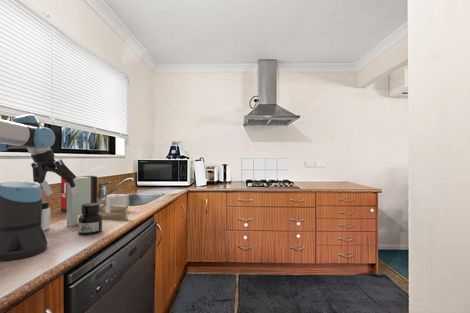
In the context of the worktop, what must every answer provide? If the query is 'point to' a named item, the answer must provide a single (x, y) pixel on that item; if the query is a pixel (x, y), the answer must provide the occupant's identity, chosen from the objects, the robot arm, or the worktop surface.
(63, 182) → the cleaning product box
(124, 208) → the slotted rail
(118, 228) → the worktop surface
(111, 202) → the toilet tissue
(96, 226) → the ink bottle
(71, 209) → the pale green panel
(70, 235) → the worktop surface
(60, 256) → the worktop surface
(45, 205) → the jar
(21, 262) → the worktop surface
